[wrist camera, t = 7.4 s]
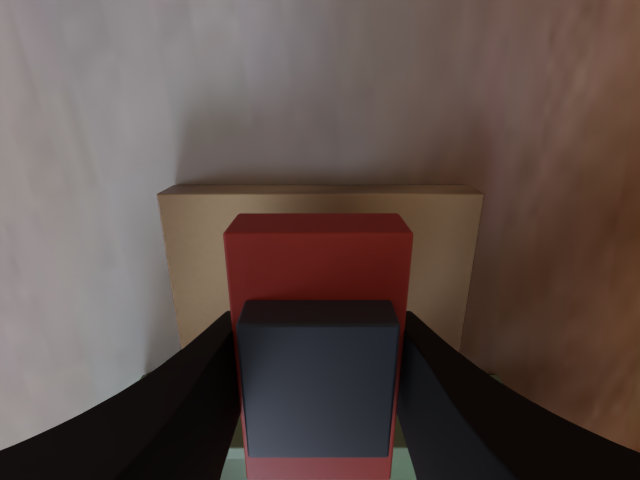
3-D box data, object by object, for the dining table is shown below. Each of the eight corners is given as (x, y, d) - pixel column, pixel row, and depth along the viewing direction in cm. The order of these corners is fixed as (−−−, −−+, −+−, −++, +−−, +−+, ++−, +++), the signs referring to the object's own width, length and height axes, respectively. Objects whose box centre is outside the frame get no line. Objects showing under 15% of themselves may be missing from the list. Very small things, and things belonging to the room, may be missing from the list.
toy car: (394, 207, 10) (428, 250, 7) (379, 419, 13) (398, 520, 10) (242, 207, 10) (207, 250, 7) (258, 419, 13) (238, 520, 10)
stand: (467, 184, 13) (484, 193, 12) (442, 361, 16) (454, 385, 15) (173, 184, 13) (156, 193, 12) (197, 361, 16) (186, 385, 15)
